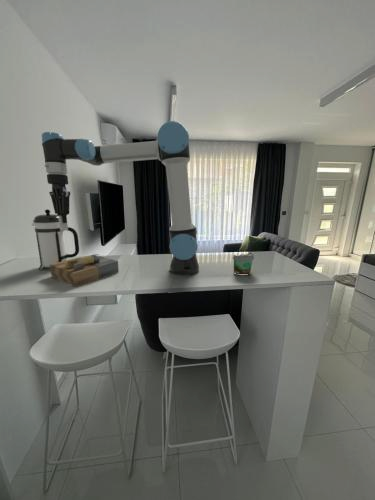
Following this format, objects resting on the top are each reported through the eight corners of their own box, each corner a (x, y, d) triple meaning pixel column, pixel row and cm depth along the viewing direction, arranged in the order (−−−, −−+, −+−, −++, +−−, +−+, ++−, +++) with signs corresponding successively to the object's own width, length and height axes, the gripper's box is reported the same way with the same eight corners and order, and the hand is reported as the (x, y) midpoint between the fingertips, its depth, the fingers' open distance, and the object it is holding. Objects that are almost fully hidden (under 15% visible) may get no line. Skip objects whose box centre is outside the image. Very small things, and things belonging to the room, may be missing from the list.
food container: (240, 278, 101) (242, 258, 98) (231, 274, 106) (232, 255, 103) (257, 273, 107) (259, 254, 105) (248, 270, 112) (249, 252, 110)
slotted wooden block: (118, 272, 105) (117, 255, 103) (75, 286, 87) (72, 267, 85) (94, 265, 116) (93, 249, 114) (51, 276, 98) (49, 258, 96)
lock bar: (97, 260, 103) (97, 253, 102) (101, 261, 101) (100, 255, 100) (64, 266, 92) (63, 259, 91) (67, 268, 90) (66, 261, 89)
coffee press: (45, 274, 101) (36, 210, 94) (33, 267, 110) (24, 209, 103) (81, 265, 114) (75, 209, 107) (68, 260, 124) (61, 208, 117)
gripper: (40, 174, 89) (48, 230, 94) (55, 172, 82) (63, 232, 87) (58, 176, 95) (65, 228, 100) (74, 174, 88) (80, 230, 93)
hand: (64, 230), depth 94 cm, fingers closed
